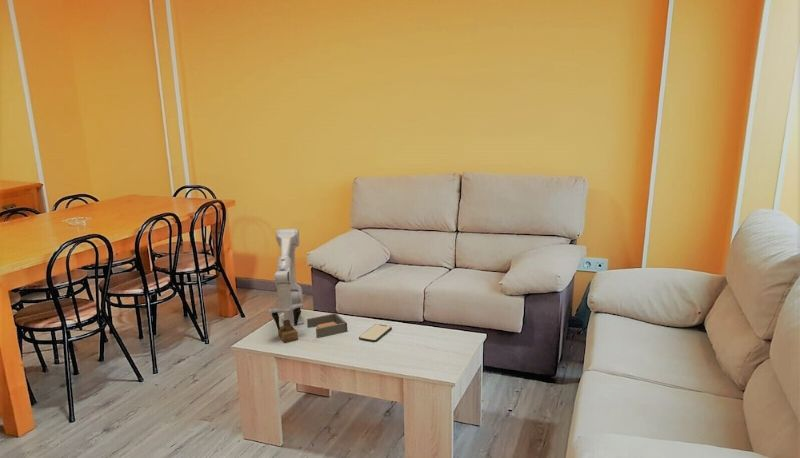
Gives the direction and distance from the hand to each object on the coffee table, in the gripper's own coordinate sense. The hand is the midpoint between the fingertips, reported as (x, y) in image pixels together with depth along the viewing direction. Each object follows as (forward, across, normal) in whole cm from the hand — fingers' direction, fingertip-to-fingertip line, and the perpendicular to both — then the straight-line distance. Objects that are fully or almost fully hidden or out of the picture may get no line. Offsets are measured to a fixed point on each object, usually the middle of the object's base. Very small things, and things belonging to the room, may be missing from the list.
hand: (287, 326), depth 256 cm
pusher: (+5, 0, 0) cm, 5 cm away
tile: (+6, +18, 0) cm, 19 cm away
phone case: (+6, +35, -16) cm, 39 cm away
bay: (+5, +18, 0) cm, 19 cm away
